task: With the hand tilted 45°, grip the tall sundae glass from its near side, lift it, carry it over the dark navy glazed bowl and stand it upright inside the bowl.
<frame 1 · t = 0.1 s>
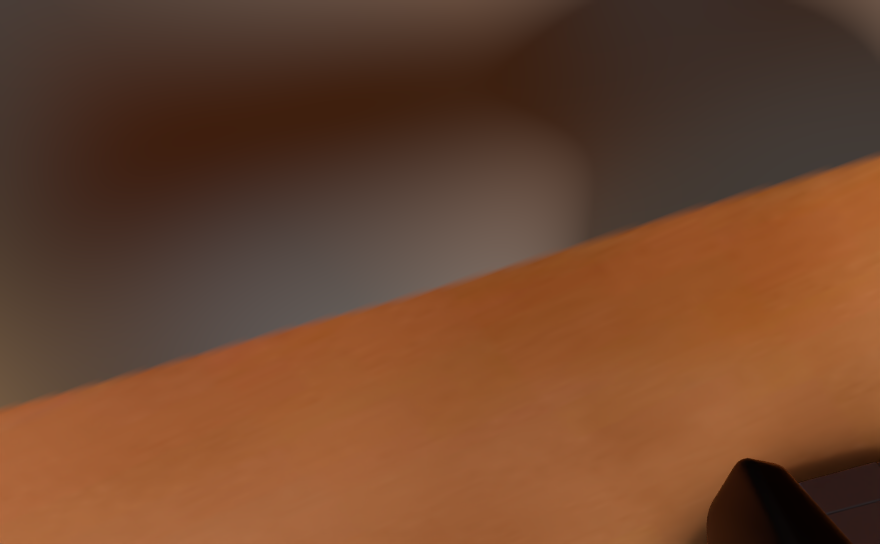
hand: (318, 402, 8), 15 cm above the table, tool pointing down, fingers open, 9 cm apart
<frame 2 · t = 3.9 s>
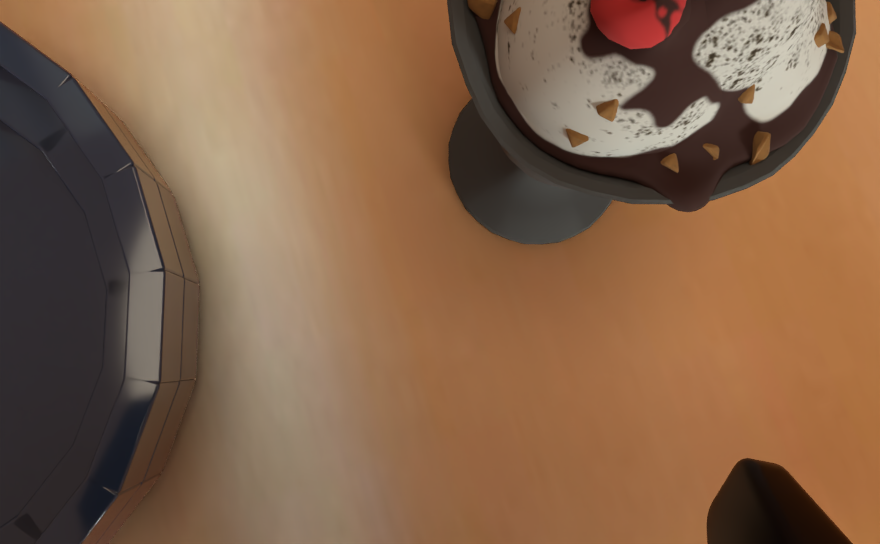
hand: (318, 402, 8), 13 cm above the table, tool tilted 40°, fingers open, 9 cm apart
sundae: (533, 162, 23), on the table
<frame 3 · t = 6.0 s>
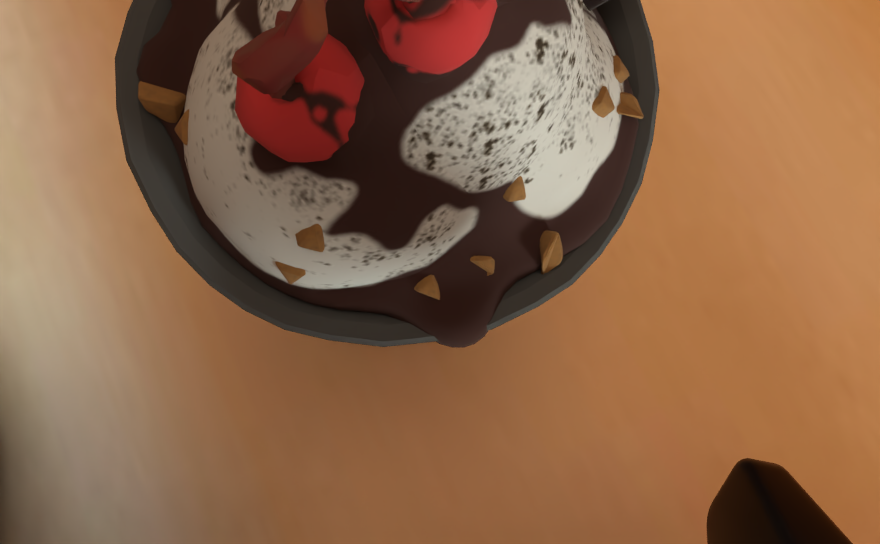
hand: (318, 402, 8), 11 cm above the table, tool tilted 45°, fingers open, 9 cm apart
sundae: (384, 244, 20), on the table
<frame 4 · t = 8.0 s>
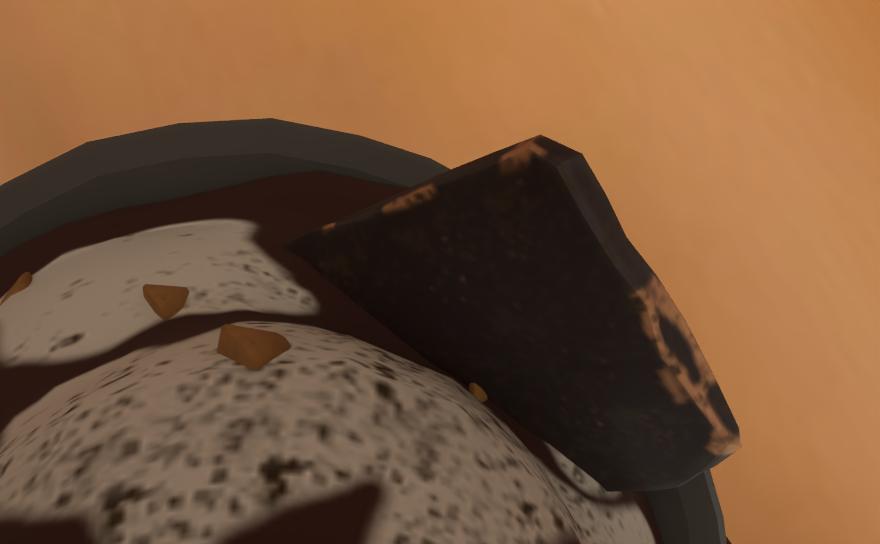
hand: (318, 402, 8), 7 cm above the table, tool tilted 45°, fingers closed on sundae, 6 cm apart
sundae: (329, 472, 15), on the table, touching gripper
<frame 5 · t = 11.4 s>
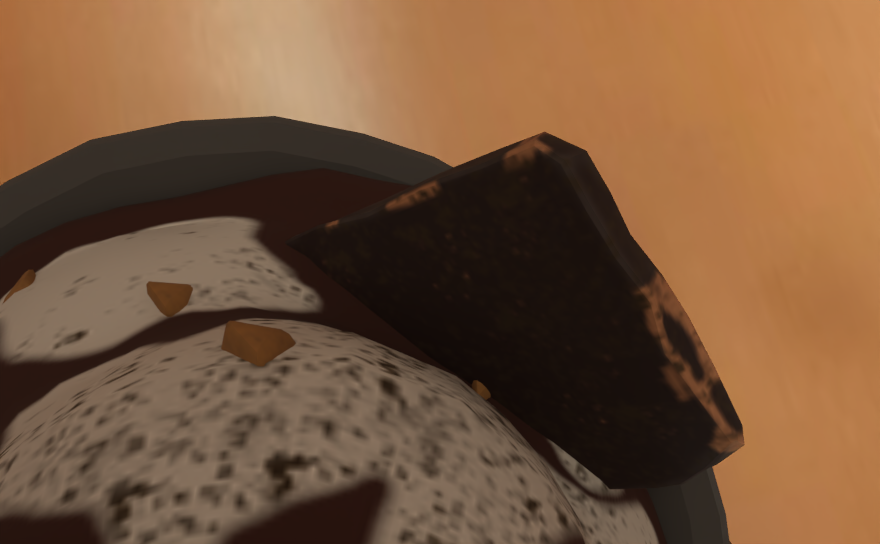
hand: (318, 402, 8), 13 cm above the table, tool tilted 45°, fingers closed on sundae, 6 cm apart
sundae: (330, 471, 15), point 6 cm above the table, touching gripper
when the fingers open (8 cm above the table, at t = 15.1 s): sundae stays where it is, resting on bowl.
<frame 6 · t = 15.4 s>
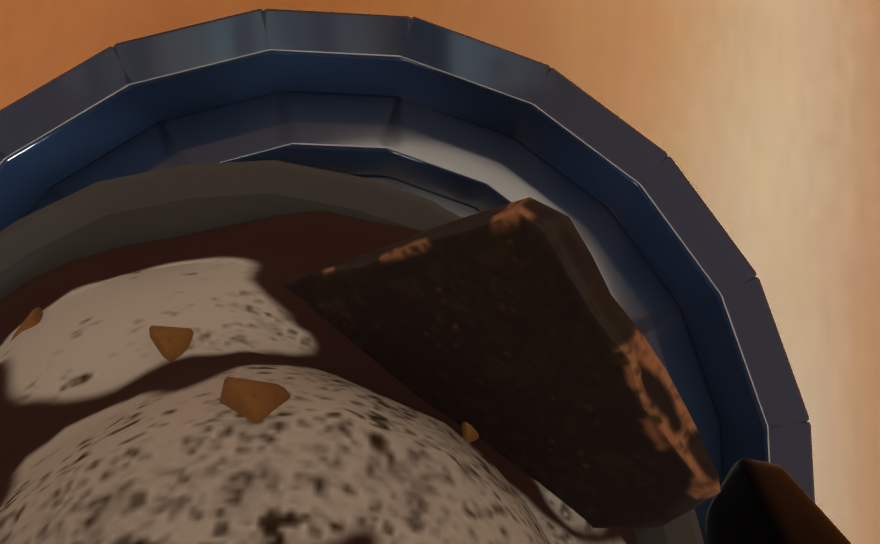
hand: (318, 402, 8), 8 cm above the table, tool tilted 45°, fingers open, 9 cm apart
sundae: (328, 484, 16), point 1 cm above the table, touching bowl
bowl: (332, 471, 16), on the table
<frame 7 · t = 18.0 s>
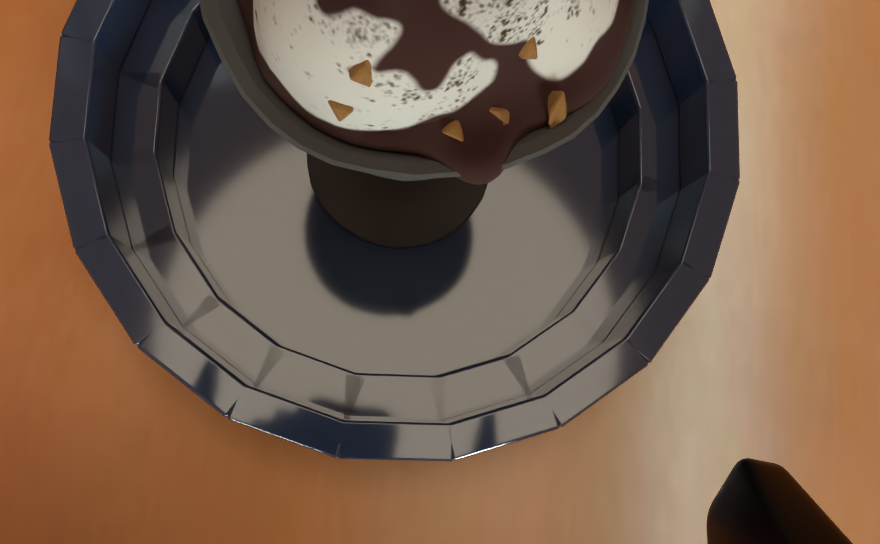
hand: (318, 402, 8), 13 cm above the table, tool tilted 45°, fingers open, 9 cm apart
sundae: (399, 161, 22), point 1 cm above the table, touching bowl
bowl: (401, 161, 22), on the table
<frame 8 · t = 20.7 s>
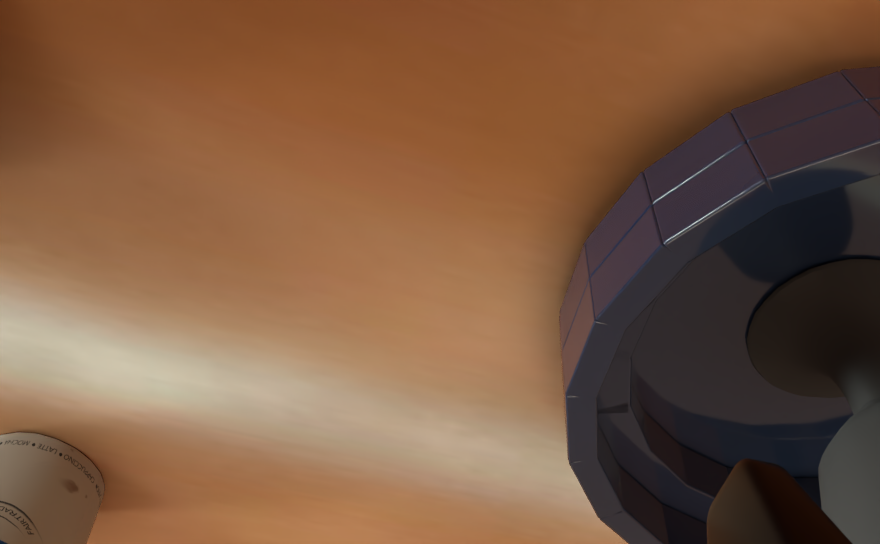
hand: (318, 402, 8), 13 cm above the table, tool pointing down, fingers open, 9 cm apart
sundae: (834, 325, 23), point 1 cm above the table, touching bowl
bowl: (833, 315, 23), on the table
coffee cup: (46, 471, 30), on the table
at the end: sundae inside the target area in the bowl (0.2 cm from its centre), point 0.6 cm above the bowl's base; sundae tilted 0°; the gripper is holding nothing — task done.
